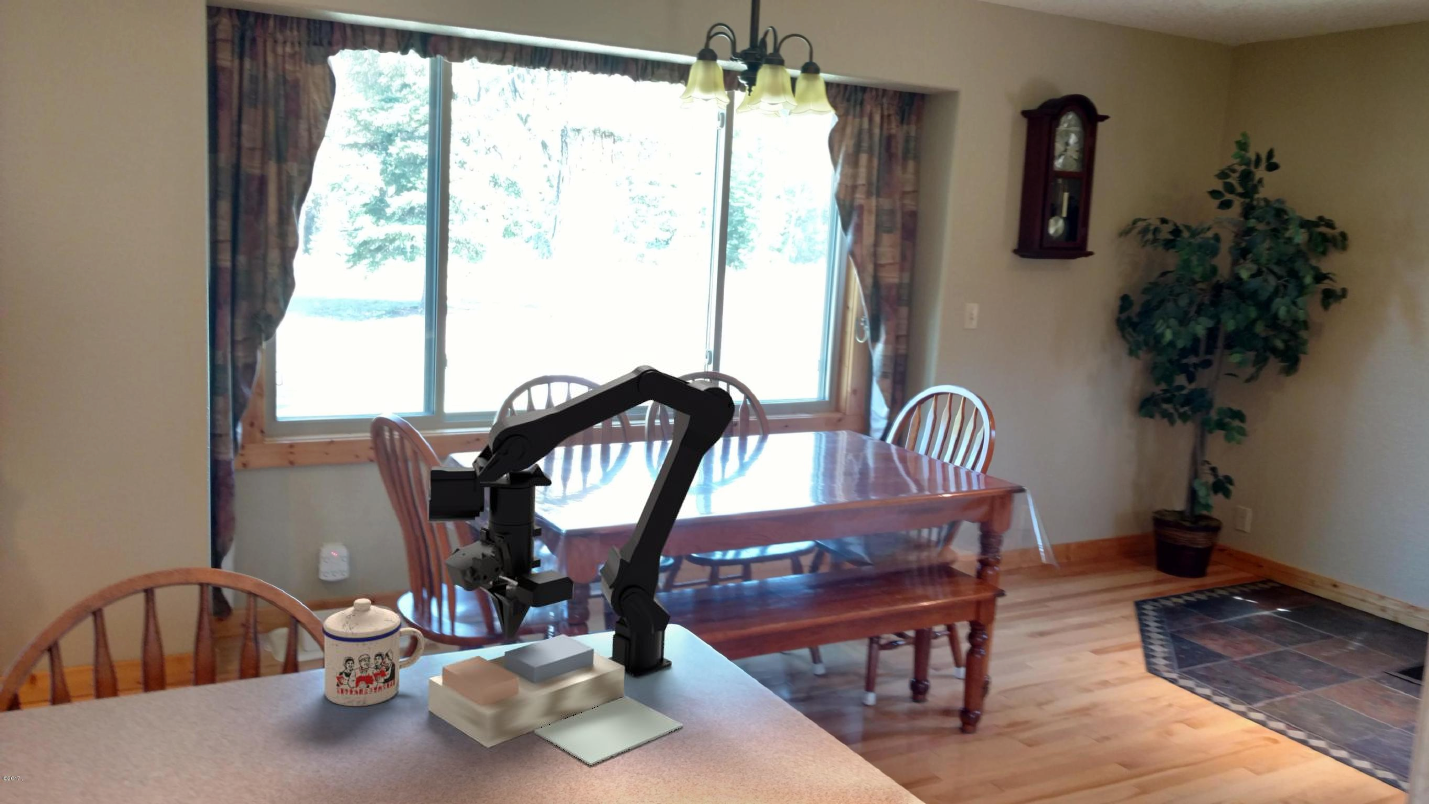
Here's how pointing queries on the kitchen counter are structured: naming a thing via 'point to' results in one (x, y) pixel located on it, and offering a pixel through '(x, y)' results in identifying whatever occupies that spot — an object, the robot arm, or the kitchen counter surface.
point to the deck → (529, 701)
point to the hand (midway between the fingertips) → (509, 637)
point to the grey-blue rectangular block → (548, 658)
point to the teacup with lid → (364, 654)
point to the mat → (608, 730)
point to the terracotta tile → (480, 680)
